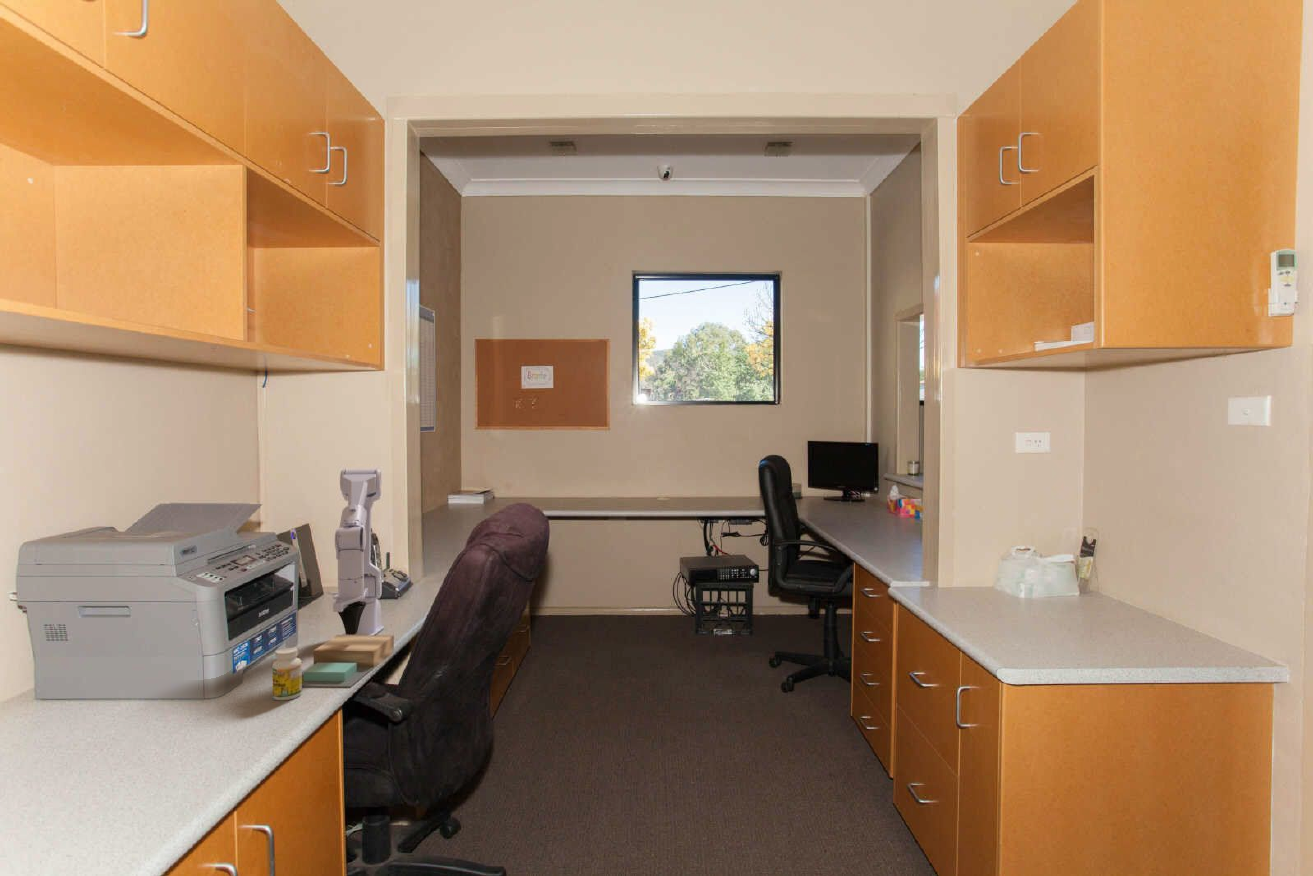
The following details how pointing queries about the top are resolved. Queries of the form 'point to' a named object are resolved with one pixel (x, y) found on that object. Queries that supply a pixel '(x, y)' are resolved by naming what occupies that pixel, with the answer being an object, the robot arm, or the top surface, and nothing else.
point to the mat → (339, 684)
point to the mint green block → (330, 672)
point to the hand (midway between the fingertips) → (351, 633)
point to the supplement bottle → (287, 674)
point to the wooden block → (355, 650)
